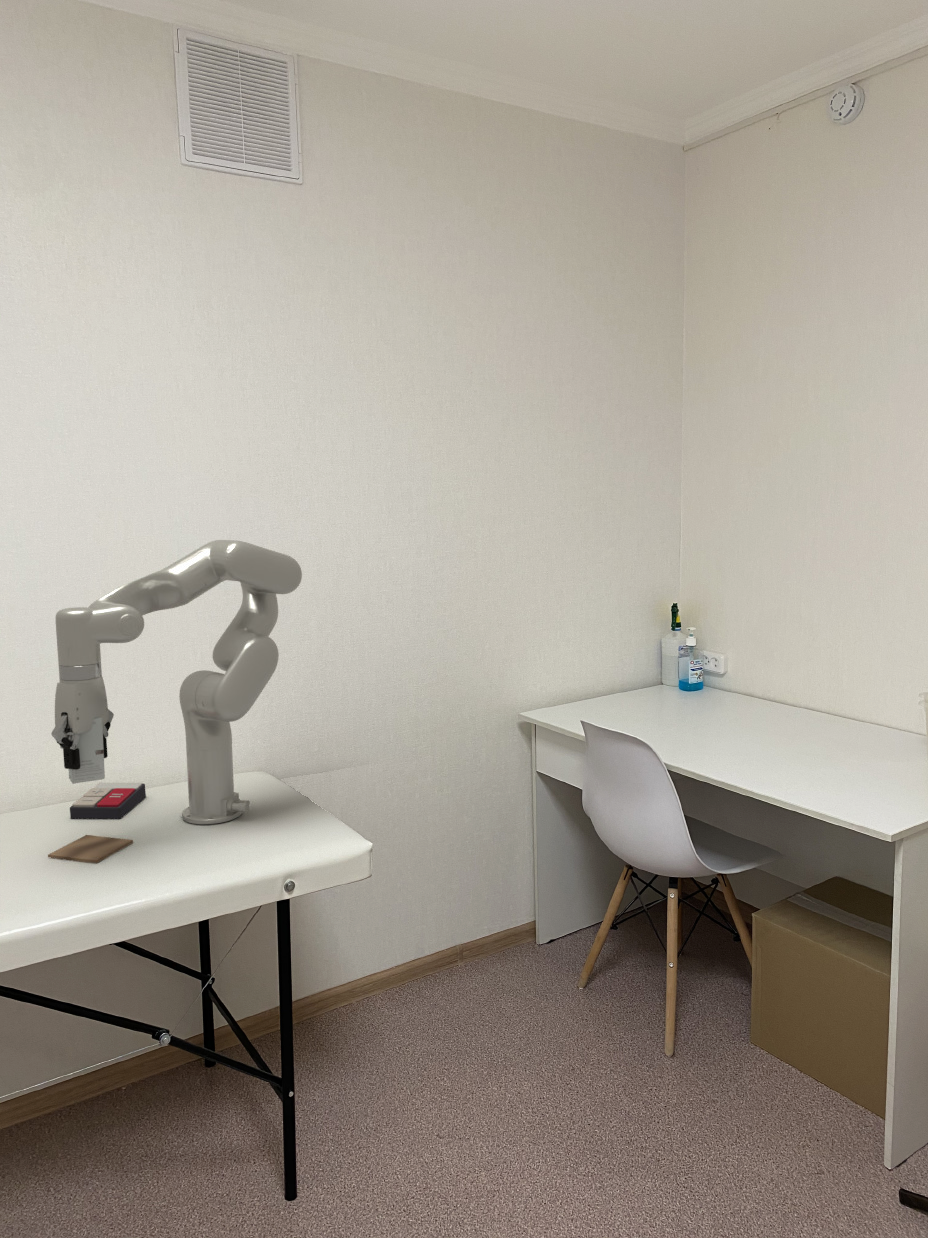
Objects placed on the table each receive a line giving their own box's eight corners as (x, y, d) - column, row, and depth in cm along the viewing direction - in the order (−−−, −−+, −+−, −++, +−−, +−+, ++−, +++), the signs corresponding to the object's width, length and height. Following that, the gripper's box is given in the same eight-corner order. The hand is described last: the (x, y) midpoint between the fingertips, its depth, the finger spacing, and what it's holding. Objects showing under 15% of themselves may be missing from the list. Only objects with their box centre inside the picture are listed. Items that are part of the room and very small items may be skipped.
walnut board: (133, 842, 183) (133, 840, 183) (96, 863, 172) (96, 860, 172) (86, 837, 186) (86, 834, 186) (48, 857, 176) (47, 854, 176)
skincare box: (72, 785, 174) (68, 722, 173) (68, 779, 178) (64, 718, 176) (106, 779, 177) (102, 718, 176) (101, 773, 181) (97, 713, 180)
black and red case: (68, 804, 197) (98, 780, 211) (70, 823, 197) (99, 797, 212) (119, 804, 196) (145, 780, 211) (120, 823, 197) (146, 798, 212)
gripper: (94, 663, 184) (99, 750, 187) (30, 680, 168) (37, 774, 170) (126, 665, 182) (131, 752, 184) (65, 682, 166) (71, 777, 168)
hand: (86, 762), depth 177 cm, fingers closed on skincare box, 7 cm apart
